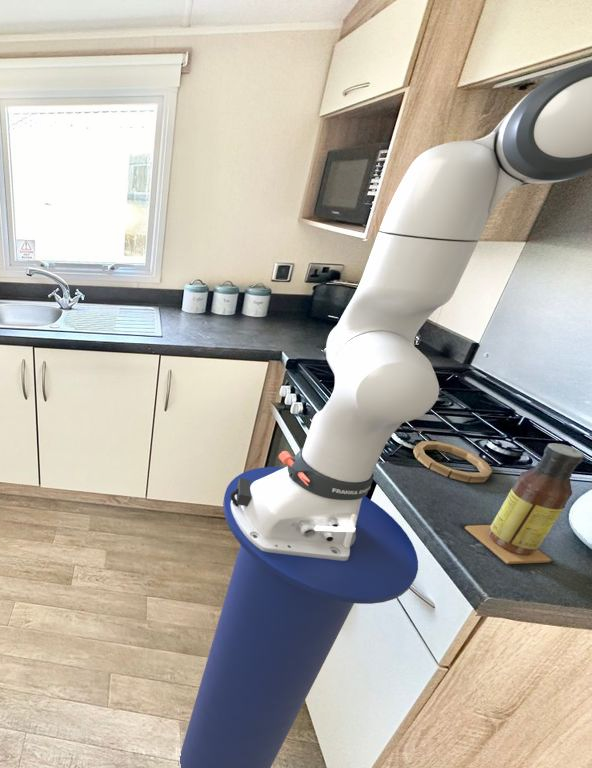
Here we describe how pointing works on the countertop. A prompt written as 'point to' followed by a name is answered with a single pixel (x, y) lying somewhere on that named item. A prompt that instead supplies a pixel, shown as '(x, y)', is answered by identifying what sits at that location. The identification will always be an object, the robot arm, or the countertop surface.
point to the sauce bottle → (536, 501)
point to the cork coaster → (507, 556)
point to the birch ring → (446, 471)
